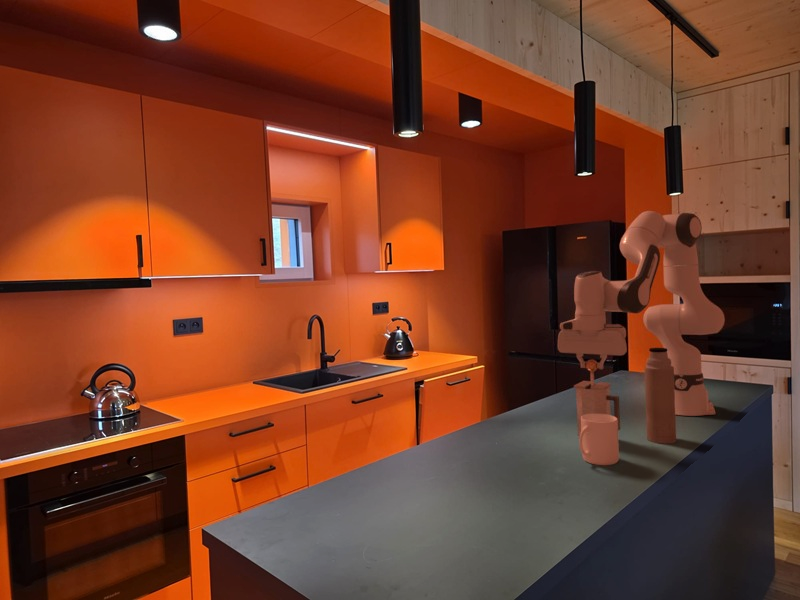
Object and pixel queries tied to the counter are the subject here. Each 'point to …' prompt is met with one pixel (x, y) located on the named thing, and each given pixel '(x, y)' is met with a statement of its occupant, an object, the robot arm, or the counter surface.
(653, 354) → the thermos bottle
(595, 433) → the mug
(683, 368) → the robot arm
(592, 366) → the copper ball on rod
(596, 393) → the press carafe
